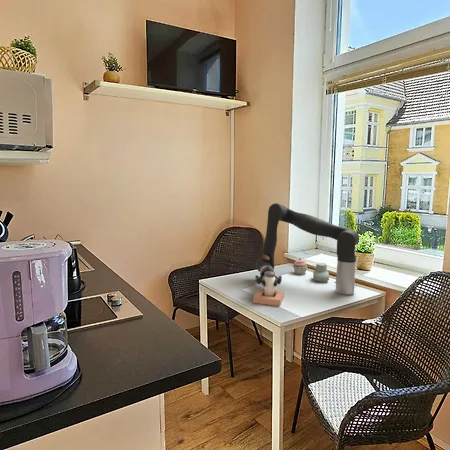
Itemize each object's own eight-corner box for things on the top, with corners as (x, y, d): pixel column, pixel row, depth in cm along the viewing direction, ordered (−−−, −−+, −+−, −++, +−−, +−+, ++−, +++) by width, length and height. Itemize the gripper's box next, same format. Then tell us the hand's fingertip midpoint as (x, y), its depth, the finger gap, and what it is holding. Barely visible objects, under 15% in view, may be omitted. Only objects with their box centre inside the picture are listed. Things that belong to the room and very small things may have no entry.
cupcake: (289, 271, 230) (290, 256, 229) (303, 270, 232) (304, 255, 231) (296, 276, 221) (296, 260, 220) (310, 275, 224) (311, 259, 222)
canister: (275, 296, 184) (275, 271, 182) (273, 300, 179) (274, 274, 177) (264, 295, 186) (265, 270, 183) (262, 299, 181) (263, 273, 179)
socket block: (284, 296, 187) (284, 291, 186) (280, 306, 175) (280, 300, 174) (258, 294, 191) (259, 288, 190) (253, 303, 178) (253, 297, 178)
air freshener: (312, 277, 220) (313, 261, 218) (327, 278, 218) (328, 261, 217) (313, 283, 209) (314, 266, 207) (328, 284, 208) (329, 266, 206)
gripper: (254, 266, 195) (255, 276, 178) (281, 267, 194) (285, 277, 178) (253, 280, 196) (255, 291, 179) (280, 280, 196) (284, 292, 179)
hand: (270, 284), depth 179 cm, fingers closed on canister, 4 cm apart
